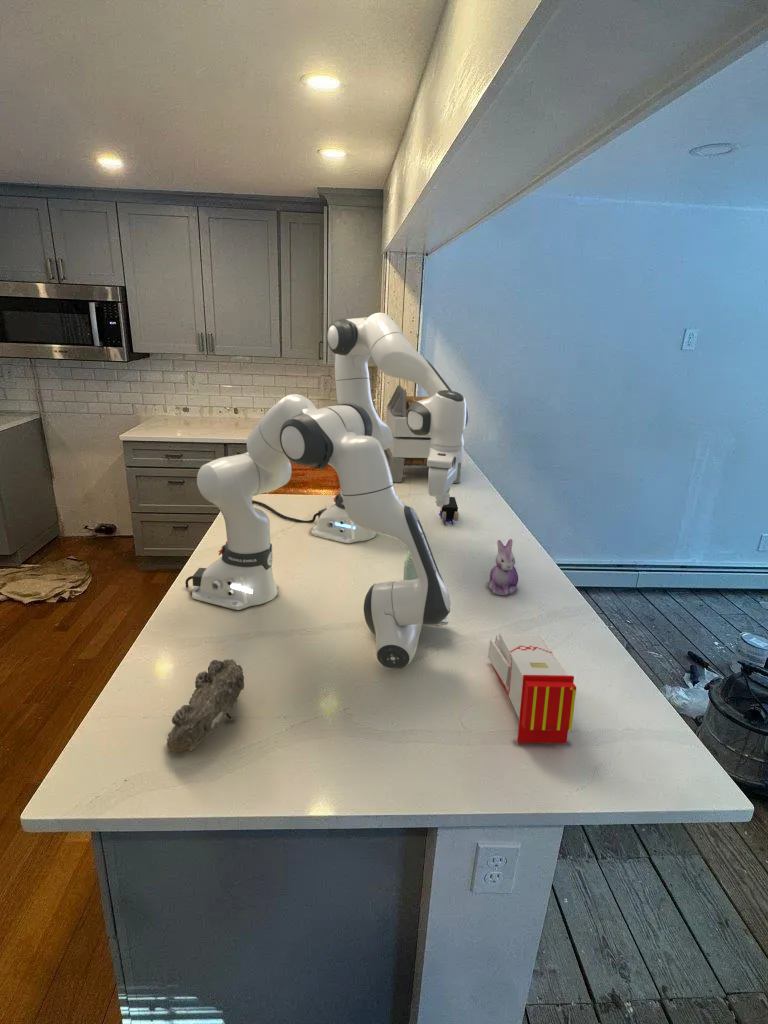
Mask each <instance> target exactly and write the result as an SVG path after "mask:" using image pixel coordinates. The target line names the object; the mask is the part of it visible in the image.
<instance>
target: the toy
mask: <svg viewBox="0 0 768 1024" xmlns="http://www.w3.org/2000/svg"><path fill="white" fill-rule="evenodd" d="M487 659H488V661H489V662H490V663H491V666H492V668H493V670H494V671H495V673H496V676H497V678H498V679H499V681H500V682H501V685H502V686H503V689H504V690H505V692H506V694H507V695H508V698H509V700H510V702H511V705H512V706H513V708H514V711H515V713H516V715H517V717H518V728H517V741H516V742H517V743H518V744H567V743H568V734H569V732H570V731H573V720H574V711H575V704H576V696H577V695H576V694H577V686H576V685H575V683H574V681H575V676H574V675H569V674H568V673H567V671H566V670H565V669H564V667H563V666H562V664H560V662H559V661H558V659H557V657H556V656H555V655H554V653H553V651H552V650H551V649H550V648H549V646H548V644H547V643H546V641H545V639H543V638H542V636H541V635H540V633H503V632H501V633H499V634H496V635H495V639H494V640H493V639H489V644H488V652H487Z"/></svg>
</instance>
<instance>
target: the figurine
mask: <svg viewBox="0 0 768 1024" xmlns="http://www.w3.org/2000/svg"><path fill="white" fill-rule="evenodd" d="M496 542H497V543H496V545H497V555H496V557H495V564H496V565H494V566H493V567H492V568H491V569H490V573H489V581H488V587H489V589H490V590H491V591H492V593H493V594H495V595H499V596H507V595H509V594H513V593H514V592H515V591H516V590H517V587H518V583H519V574H518V571H517V568H516V567H515V565H516V559H515V555H514V554H513V551H512V549H513V543H514V542H513V539H512V538H509V539H508V540H507V542H506V544H505V545H504V544H503V541H502V540H501V539H498V540H497V541H496Z"/></svg>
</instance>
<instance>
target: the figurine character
mask: <svg viewBox="0 0 768 1024" xmlns="http://www.w3.org/2000/svg"><path fill="white" fill-rule="evenodd" d="M458 511H459V507H458V503H457V500H456V496H450V498H449V504H447V505H444V506H443V507H439V513H438V515H439V517H440V520H441V521H443V525H447V523H450V524H451V526H454V525H455V523H454V522H458V520H459V512H458Z"/></svg>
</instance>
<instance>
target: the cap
mask: <svg viewBox="0 0 768 1024" xmlns="http://www.w3.org/2000/svg"><path fill="white" fill-rule="evenodd" d="M450 497H451V494H450V493H449V494H448V493H445V495H444V505H447V504H449V498H450ZM434 501H435V504H437V499H436V498H435V499H434Z"/></svg>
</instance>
